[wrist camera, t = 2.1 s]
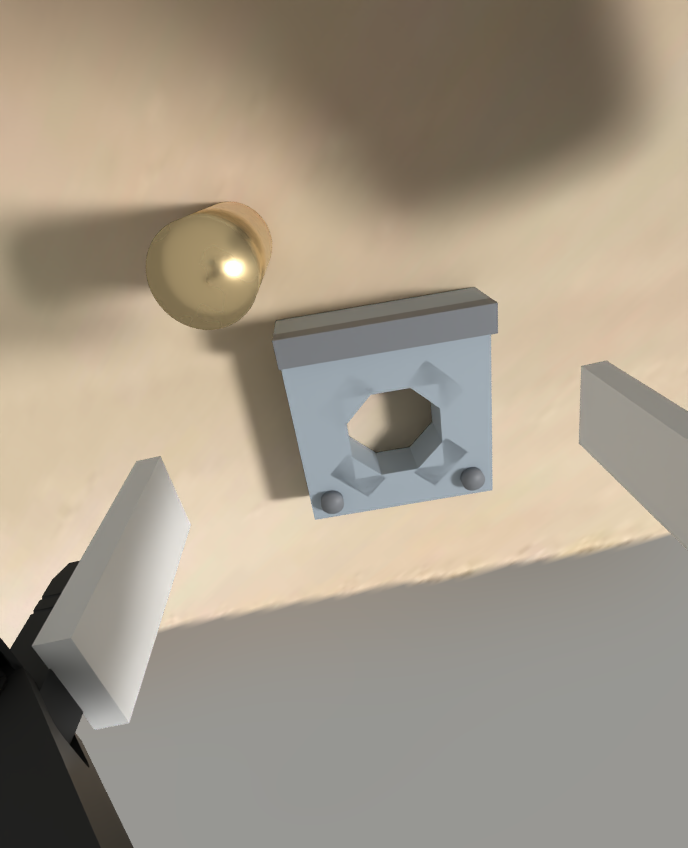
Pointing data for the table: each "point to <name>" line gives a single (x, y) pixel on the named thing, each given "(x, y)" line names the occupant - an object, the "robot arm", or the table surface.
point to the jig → (382, 372)
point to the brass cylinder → (209, 265)
